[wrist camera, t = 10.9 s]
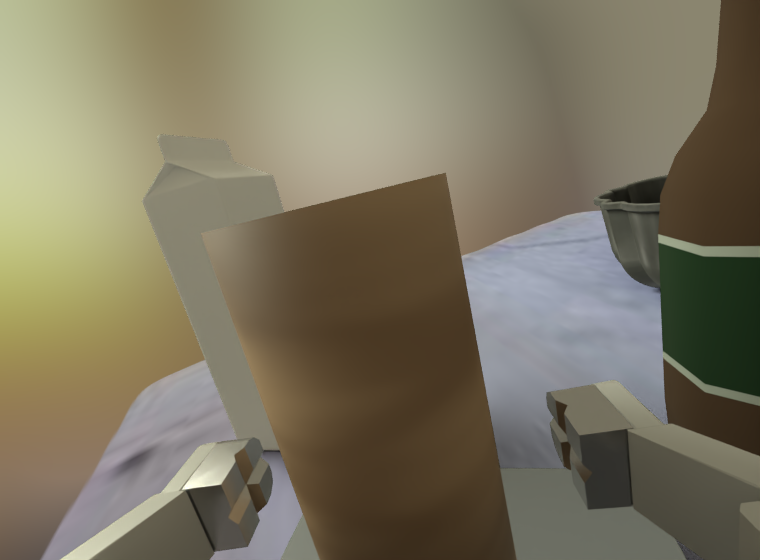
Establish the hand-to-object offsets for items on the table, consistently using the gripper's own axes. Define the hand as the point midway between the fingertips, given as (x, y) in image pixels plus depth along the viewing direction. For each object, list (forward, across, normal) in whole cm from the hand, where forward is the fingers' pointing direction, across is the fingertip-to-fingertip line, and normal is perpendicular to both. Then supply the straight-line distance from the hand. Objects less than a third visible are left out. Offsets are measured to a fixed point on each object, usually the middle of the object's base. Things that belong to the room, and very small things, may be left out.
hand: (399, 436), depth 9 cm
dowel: (-1, 0, -10) cm, 10 cm away
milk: (+16, -11, -10) cm, 22 cm away
